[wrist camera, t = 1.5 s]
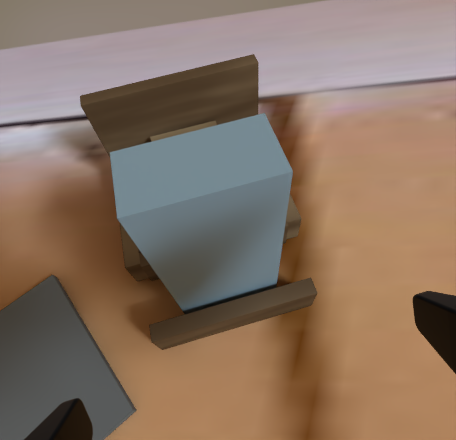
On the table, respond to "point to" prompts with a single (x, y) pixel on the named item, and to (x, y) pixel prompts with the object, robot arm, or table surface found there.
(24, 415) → the mat
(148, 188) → the pale blue wedge-ended prism
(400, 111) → the table surface
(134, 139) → the rack
